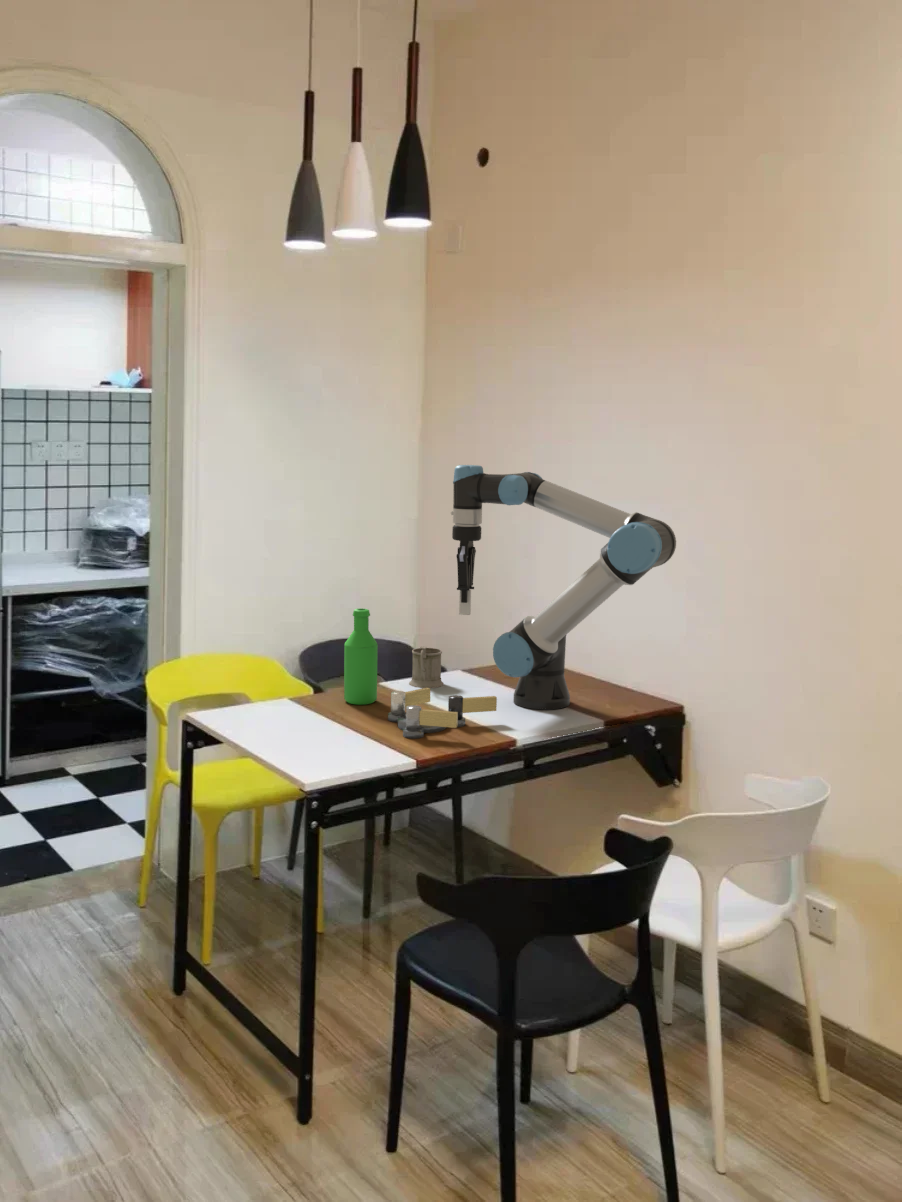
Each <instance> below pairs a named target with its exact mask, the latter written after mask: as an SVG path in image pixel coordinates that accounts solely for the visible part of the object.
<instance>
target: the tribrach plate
mask: <svg viewBox="0 0 902 1202" xmlns="http://www.w3.org/2000/svg"><path fill="white" fill-rule="evenodd" d="M387 721H389V722H392V723H397V728H398V729H399V730H401V731H402V736H403V737H404V738H405V739H414V740H415V739H421V738H424V737H425V734H432V733H433V734H434V733H439V732H442V731H444V730H446V728H447V727H439V726H427V725H421V730H420V731H417V732H411V731H407V730H406V711H405V714H403V715H401V716H395V715H391V711H390V712H388V713H387ZM465 726H466V718H465V717H463V719H462V720H458V725H457V728H461V727H465Z"/></svg>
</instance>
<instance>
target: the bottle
mask: <svg viewBox="0 0 902 1202" xmlns="http://www.w3.org/2000/svg"><path fill="white" fill-rule="evenodd" d="M352 616H353V631H352V632H351V633H350V635H349V636H348V638H347V640H346V641H345V642H344V655H343V657H344V659H343V660H344V661H343V662H344V663H343V664H344V666H343V667H344V668H343V669H344V670H343V671H344V672H343V673H344V674H343V675H344V677H343V678H344V679H343V681H344V683H343V684H344V685H343V686H344V687H343V688H344V689H343V690H344V691H343V693H344V694H343V695H344V696H343V699H344V700H345V702H347V703H348V704H351V705H359V706H363V705H365V706H366V705H371V704H373V703H374V702H376V701H377V699H378V648H379V647H378V643H377V641H376V639H375V638H374V636H373V634H372V633H371V631H370V630H369V623H370V621H369V620H370V619H369V617H370V616H371V613H370V610H369V608H355V609H353V612H352Z"/></svg>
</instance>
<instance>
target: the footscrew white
mask: <svg viewBox="0 0 902 1202" xmlns="http://www.w3.org/2000/svg"><path fill="white" fill-rule="evenodd" d="M431 689H432V688H418V689H412V690H409V691H403V690H394V691H391V693H390V712H391V715H395V716H401V715H403V714H405V712H406V707H407V706H411V705H416V706H419V705H423V704H426V703H430V702H431Z"/></svg>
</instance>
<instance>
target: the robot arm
mask: <svg viewBox="0 0 902 1202" xmlns="http://www.w3.org/2000/svg"><path fill="white" fill-rule="evenodd" d="M453 471H454V472H453V481H452V484H453V500H452V502H453V503H452V504H453V507H452V508H453V509H452V511H451V512H450V514H451V516H452V523H453V524H454V525H452V534H451V536H452V540H454V541H459V547H457V554H456V562H457V587H456V590H457V591H459V607H458V609H459V613H458V615H461V616H462V615H463V616H470V615H471V610H472V608H471V607H472V604H471V603H472V590H475V586H473V585H474V575H475V572H474V571H475V558H476V554H477V550H476V547H475V546H474V542H478V541H480V540H481V539H482V527H481V525H482V521H483V504H493V505H494V504H495V505H506V506H520V505H522V504H526V505H529V506H531V507H534V508H535V509H536V508H537V509H539V510H542V511H543V512H546V513H549V514H551V515H554V516H556V517H559V518H561V519H562V520H563V519H564V520H566V521H568V522H571V523H572V524H574V525H576V526H577V525H578V526H581V527H583V528H585V529H587V530H590V531H592V532H594V533H597V534H600V535H601V536H605V537H607V538H609V540H608V542H607V543H606V544H605V545H603V547H602V548H601V549H600V550H599V559H598V560H596V562H594V563H593V564H592V565H591V566H589V568H588V569H586V570H585V571H584V572H583V573H582V574H581V575H580V576H578V578H576V580H574V581H573V582H572V583H571V584H569V586H567V587H566V588H565V589H564V590H563V591H562V592H561V593H560V594H559V595H558V596H556V598H554V599H553V600H552V601H551V602H550V603H549V604H548V605H547V606H545V607H544V608H543V609H542V610H541V611H540V612H539V613H538V614H536V616H532V615H531V616H530V615H527V616H526V617H524V618H523V619H522V620H521V621H520V622H518V624H516V626H514V627H513V628H512V629H511V630H510V631H508V632H506V631H505V632H504V633H502V634H501V635H499V637H497V639H496V640H495V641H494V643H493V647H492V657H493V660H494V663H495V665H496V668H498V669H499V671H500V672H501V673H503V674H504V675H505V676H507V677H510V678H519V679H518V681H517V684H516V686H515V688H514V692H513V703H514V704H515V705H516V706H518V707H519V706H520V707H522V708H526V709H533V710H559V709H564V708H566V707H567V708H568V707H569V705H570V703H571V695H570V691H569V689H568V685H567V681H566V678H565V665H566V664H565V663H566V647H567V646H566V645H567V643H566V640H567V635H568V634H569V633H570V632H571V631H572V630H573V629H575V628H576V627H577V626H578V625H579V624H580V623H582V622H583V621H584V620H585V619H586V618H587V617H588V616H589V615H591V614H592V613H593V612H594V611H595V610H597V608H599V607H600V606H601V605H602V604H603V603H605V601H606V600H608V599H609V598H610V597H611V596H613V594H615V593H616V592H617V591H619V589H620V588H622V586H624V585H625V586H633V585H635V584H636V582H638V581H639V580H640V579H641V578H643V577H644V576H645V575H646V574H647V573H648V572H649V571H651V570H652V569H653V568H656V567H659V566H662V565H665V564H666V563H667V562H668V561H670V559H672V557H673V556H674V554H675V552H676V548H677V537H676V535H675V533H674V531H673V528H671V527H670V525H668V524H667V523H666V522H664V521H662V520H660V519H657V518H654V517H652V516H647V515H646V514H642V513H639V512H637V511H636V512H634V513H632V514H631V513H629V512H626V511H624V510H621V509H618V508H616V507H613V506H611V505H608V504H607V503H604V502H601V501H599V500H596V499H593V498H592V497H591V498H590V497H589V496H586V495H583V494H582V493H578V492H576V491H573V490H571V489H569V488H566V487H563V486H561V485H558V484H556V483H553V482H550V481H548V480H545V479H543V478H542V476H541V475H539V474H538V473H536V472H531V471H525V472H519V473H508V474H507V473H506V474H498V473H497V474H494V473H493V474H492V473H491V474H490V473H489V474H488V473H484V468H483V466H482V465H478V464H476V465H475V464H459V465H456V466H455V468H454V470H453Z"/></svg>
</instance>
